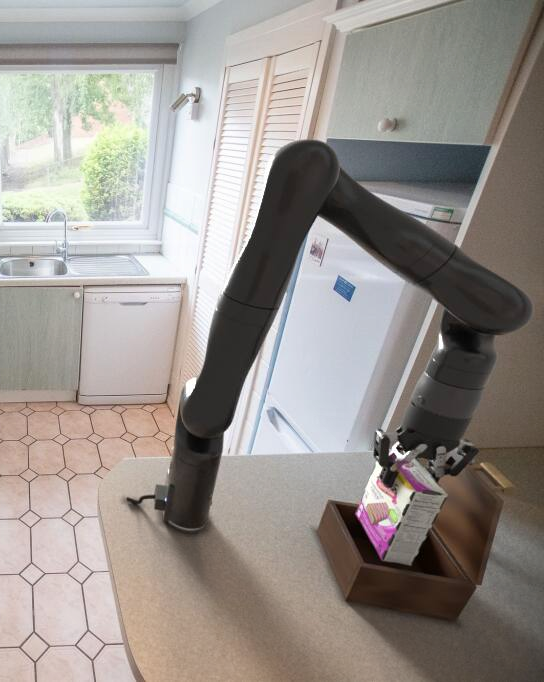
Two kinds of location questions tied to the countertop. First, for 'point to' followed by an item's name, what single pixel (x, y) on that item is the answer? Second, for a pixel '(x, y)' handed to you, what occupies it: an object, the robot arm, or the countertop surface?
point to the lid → (471, 515)
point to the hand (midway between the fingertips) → (404, 486)
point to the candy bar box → (400, 511)
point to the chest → (392, 569)
